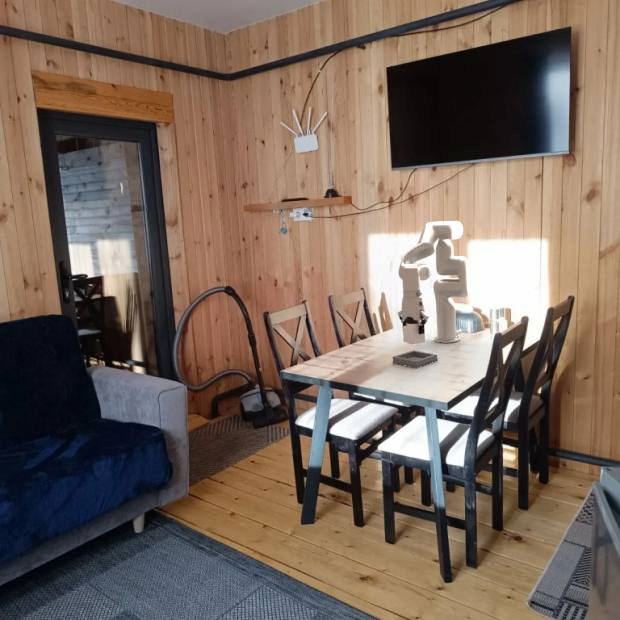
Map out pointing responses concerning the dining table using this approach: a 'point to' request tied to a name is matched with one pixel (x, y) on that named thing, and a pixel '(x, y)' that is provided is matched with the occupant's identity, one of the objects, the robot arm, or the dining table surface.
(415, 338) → the medicine bottle
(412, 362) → the tray
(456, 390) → the dining table surface
